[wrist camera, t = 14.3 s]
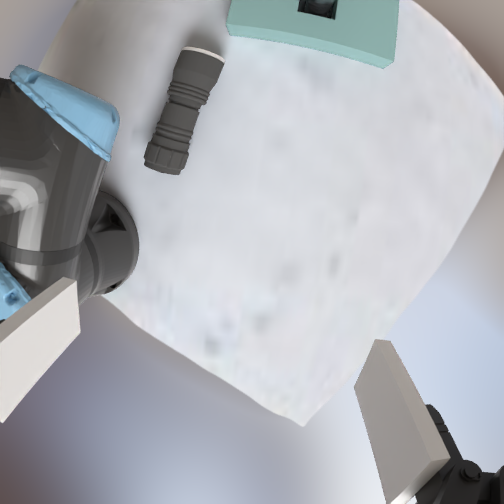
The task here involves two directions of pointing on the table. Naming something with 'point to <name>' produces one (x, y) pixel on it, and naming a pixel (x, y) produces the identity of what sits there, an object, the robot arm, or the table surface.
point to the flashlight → (182, 109)
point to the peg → (318, 7)
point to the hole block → (322, 27)
